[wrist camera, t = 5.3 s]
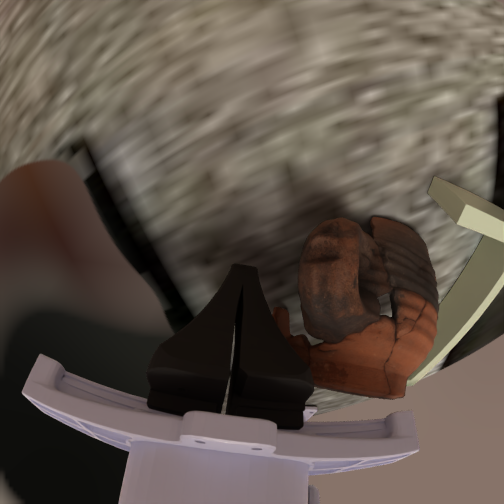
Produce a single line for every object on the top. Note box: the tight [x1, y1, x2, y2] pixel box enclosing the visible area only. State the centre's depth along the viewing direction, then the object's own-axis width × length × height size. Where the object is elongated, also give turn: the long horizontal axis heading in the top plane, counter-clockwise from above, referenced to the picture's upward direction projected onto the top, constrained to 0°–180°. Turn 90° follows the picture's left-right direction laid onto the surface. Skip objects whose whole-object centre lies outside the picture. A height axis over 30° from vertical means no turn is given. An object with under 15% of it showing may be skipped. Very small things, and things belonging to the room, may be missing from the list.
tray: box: [406, 176, 504, 386], centre depth 14 cm, size 15×7×3 cm, turn 171°
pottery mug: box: [272, 217, 439, 400], centre depth 13 cm, size 12×10×8 cm
